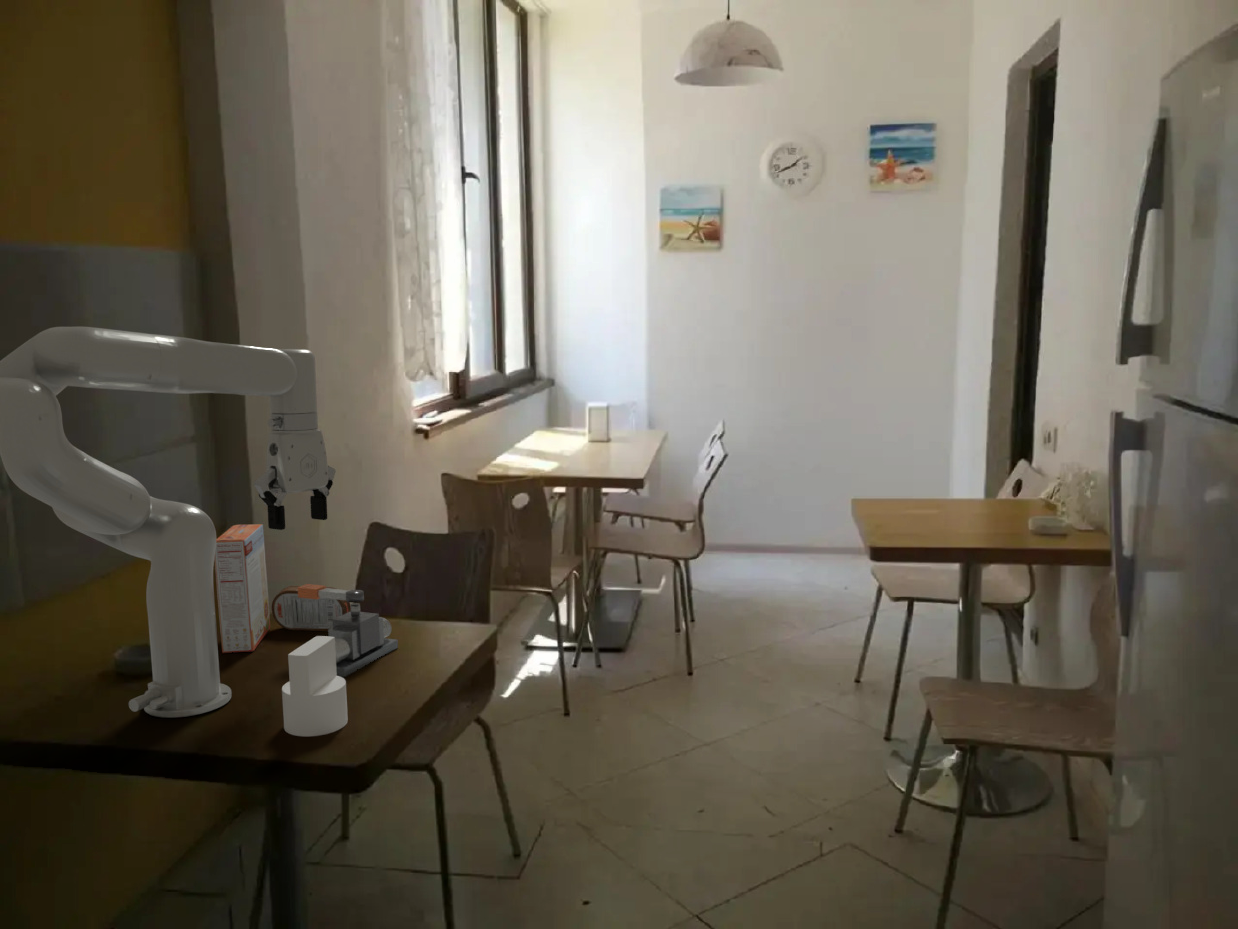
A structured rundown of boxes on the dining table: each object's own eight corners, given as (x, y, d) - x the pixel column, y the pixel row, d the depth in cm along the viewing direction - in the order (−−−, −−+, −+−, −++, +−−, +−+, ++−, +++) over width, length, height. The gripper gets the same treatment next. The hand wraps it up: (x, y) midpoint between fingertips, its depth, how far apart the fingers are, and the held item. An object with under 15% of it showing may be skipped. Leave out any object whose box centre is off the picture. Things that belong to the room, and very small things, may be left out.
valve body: (344, 677, 168) (341, 618, 167) (314, 672, 171) (311, 615, 169) (398, 647, 183) (395, 594, 182) (369, 644, 185) (367, 591, 184)
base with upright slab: (330, 738, 144) (326, 657, 142) (272, 734, 145) (267, 654, 144) (358, 714, 153) (354, 637, 151) (302, 710, 154) (298, 634, 152)
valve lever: (367, 599, 176) (366, 589, 176) (357, 604, 173) (356, 594, 173) (308, 593, 181) (307, 583, 180) (297, 597, 178) (296, 587, 178)
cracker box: (239, 630, 194) (232, 524, 191) (271, 629, 195) (265, 523, 192) (218, 654, 181) (211, 539, 178) (253, 652, 181) (246, 538, 178)
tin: (352, 628, 195) (350, 585, 194) (346, 633, 192) (344, 590, 191) (277, 626, 197) (275, 584, 196) (270, 631, 194) (267, 588, 193)
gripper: (271, 428, 160) (276, 535, 162) (347, 420, 175) (350, 517, 177) (237, 426, 163) (242, 531, 165) (314, 418, 178) (318, 514, 180)
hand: (298, 523), depth 171 cm, fingers open, 9 cm apart
